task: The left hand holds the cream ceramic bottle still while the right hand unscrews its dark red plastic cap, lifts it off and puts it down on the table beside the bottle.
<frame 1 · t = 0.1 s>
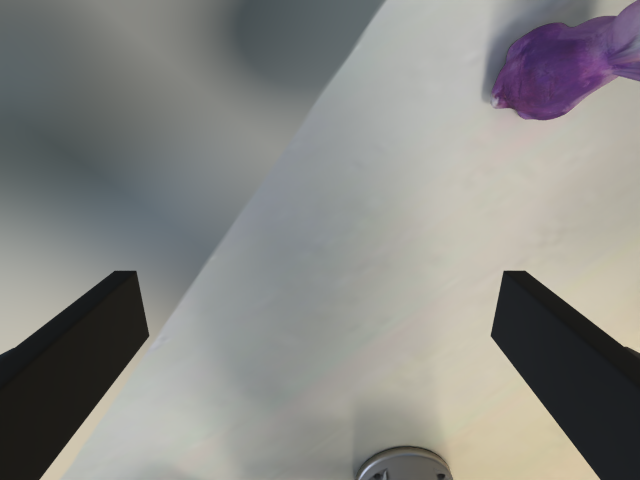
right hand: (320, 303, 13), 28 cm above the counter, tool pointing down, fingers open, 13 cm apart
figurine: (539, 67, 35), on the counter
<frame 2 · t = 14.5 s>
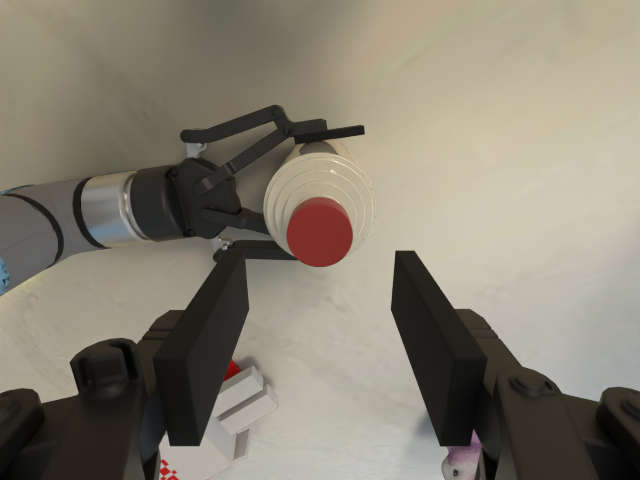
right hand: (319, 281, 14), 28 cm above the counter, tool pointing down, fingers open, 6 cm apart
left hand: (366, 175, 35), fingers closed on bottle, 8 cm apart
cap: (319, 235, 20), point 23 cm above the counter, screwed on, not yet turned
toy: (186, 405, 53), on the counter
figurine: (461, 403, 53), on the counter
bottle: (319, 171, 41), on the counter, touching left hand
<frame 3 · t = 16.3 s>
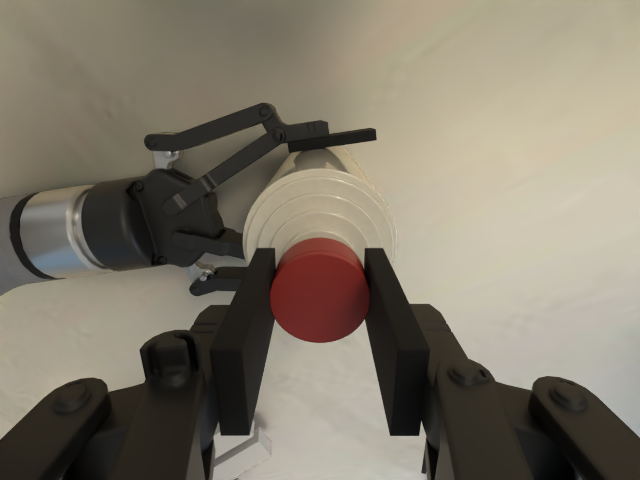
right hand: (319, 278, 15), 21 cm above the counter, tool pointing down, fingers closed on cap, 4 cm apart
left hand: (378, 189, 28), fingers closed on bottle, 8 cm apart
cap: (319, 296, 13), point 23 cm above the counter, screwed on, not yet turned, touching right hand
toy: (168, 446, 47), on the counter
bottle: (320, 183, 34), on the counter, touching left hand
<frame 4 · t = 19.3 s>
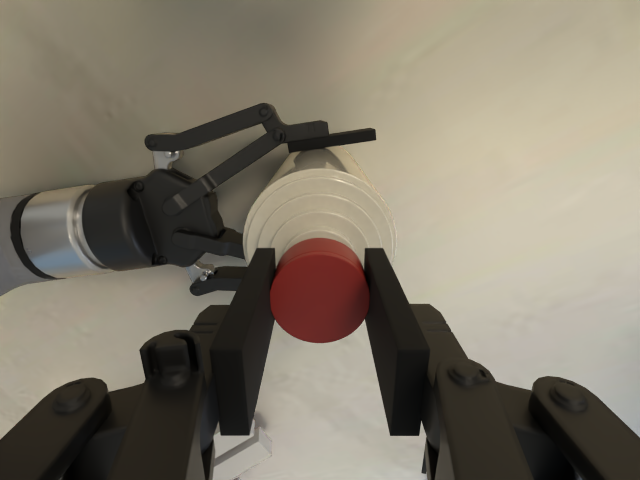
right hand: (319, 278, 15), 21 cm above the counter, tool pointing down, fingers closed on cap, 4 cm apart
left hand: (377, 189, 28), fingers closed on bottle, 8 cm apart
cap: (319, 297, 13), point 23 cm above the counter, turned 88° so far, risen 0.1 cm, still on its thread, touching right hand
toy: (168, 446, 47), on the counter
bottle: (319, 183, 34), on the counter, touching left hand
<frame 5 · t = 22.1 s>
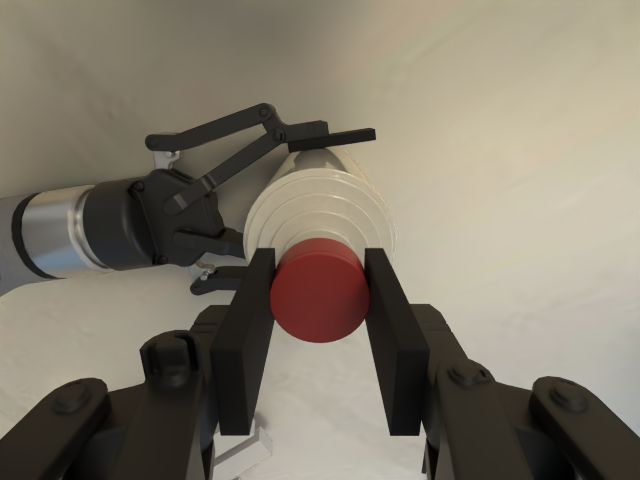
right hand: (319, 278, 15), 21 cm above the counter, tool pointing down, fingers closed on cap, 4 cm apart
left hand: (377, 189, 28), fingers closed on bottle, 8 cm apart
cap: (319, 296, 13), point 23 cm above the counter, turned 176° so far, risen 0.2 cm, still on its thread, touching right hand
toy: (169, 445, 47), on the counter
bottle: (319, 182, 35), on the counter, touching left hand
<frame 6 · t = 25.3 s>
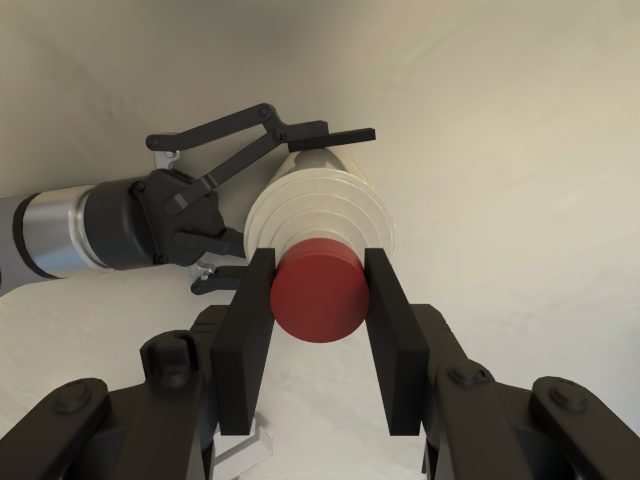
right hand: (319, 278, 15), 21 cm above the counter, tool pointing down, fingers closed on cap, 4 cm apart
left hand: (377, 189, 28), fingers closed on bottle, 8 cm apart
cap: (319, 297, 13), point 23 cm above the counter, turned 265° so far, risen 0.2 cm, still on its thread, touching right hand
toy: (169, 445, 47), on the counter
bottle: (319, 182, 35), on the counter, touching left hand
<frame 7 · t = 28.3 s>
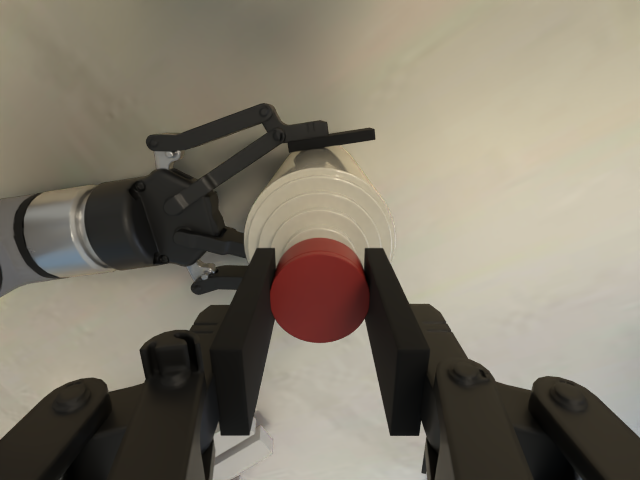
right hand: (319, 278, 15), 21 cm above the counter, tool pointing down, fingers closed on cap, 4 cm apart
left hand: (377, 188, 28), fingers closed on bottle, 8 cm apart
cap: (319, 296, 13), point 23 cm above the counter, turned 353° so far, risen 0.3 cm, still on its thread, touching right hand
toy: (170, 445, 47), on the counter
bottle: (319, 182, 35), on the counter, touching left hand
when the right hand's fingers open (1 cm above the counter, at t = 34.3 s): cap drops 1 cm, point 1 cm above the counter.
when the left hand's fingers open (6 cm above the counter, at t = 35.6 s): bottle stays where it is, on the counter.
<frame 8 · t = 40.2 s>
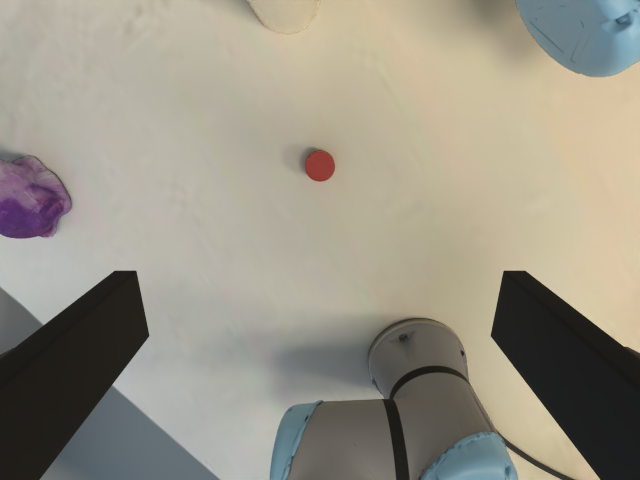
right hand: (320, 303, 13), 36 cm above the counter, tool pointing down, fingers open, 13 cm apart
cap: (320, 166, 45), point 1 cm above the counter, off its thread
figurine: (36, 190, 47), on the counter
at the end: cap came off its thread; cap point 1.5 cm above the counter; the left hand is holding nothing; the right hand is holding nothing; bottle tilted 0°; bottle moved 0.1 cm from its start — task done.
